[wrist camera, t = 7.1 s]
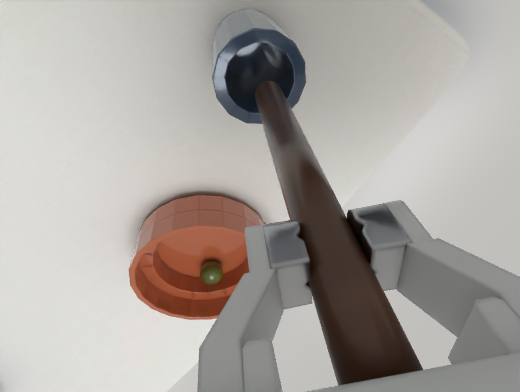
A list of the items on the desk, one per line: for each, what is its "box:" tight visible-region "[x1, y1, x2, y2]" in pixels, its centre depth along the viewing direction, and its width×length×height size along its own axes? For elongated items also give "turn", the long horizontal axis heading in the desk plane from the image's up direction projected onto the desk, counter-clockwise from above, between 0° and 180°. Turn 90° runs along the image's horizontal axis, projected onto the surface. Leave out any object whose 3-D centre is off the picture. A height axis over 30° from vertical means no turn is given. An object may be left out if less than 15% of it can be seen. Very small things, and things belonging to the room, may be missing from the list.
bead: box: [200, 261, 223, 285], centre depth 41 cm, size 3×3×3 cm
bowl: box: [129, 195, 266, 320], centre depth 39 cm, size 16×16×6 cm
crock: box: [212, 9, 306, 124], centre depth 24 cm, size 6×6×9 cm
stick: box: [255, 81, 423, 386], centre depth 11 cm, size 2×2×20 cm
